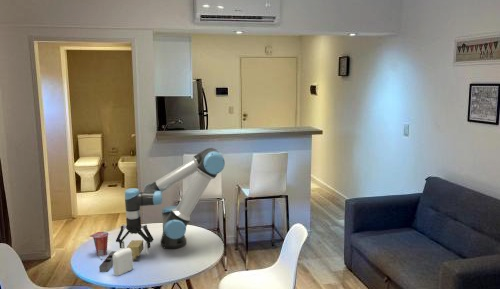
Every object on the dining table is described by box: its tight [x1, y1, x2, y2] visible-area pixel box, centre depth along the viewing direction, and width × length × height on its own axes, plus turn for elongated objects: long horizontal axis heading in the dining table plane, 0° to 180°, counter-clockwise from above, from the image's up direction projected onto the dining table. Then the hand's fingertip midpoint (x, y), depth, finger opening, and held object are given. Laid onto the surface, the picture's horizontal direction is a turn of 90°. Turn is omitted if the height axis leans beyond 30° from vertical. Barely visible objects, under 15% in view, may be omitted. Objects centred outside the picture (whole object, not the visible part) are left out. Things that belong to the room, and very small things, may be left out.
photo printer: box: [112, 247, 134, 277], centre depth 210 cm, size 10×4×12 cm, turn 140°
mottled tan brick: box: [126, 239, 145, 262], centre depth 226 cm, size 6×9×8 cm
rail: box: [98, 250, 118, 273], centre depth 220 cm, size 18×4×3 cm, turn 178°
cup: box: [89, 231, 109, 257], centre depth 230 cm, size 9×8×12 cm
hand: (135, 253), depth 226 cm, fingers open, 13 cm apart
